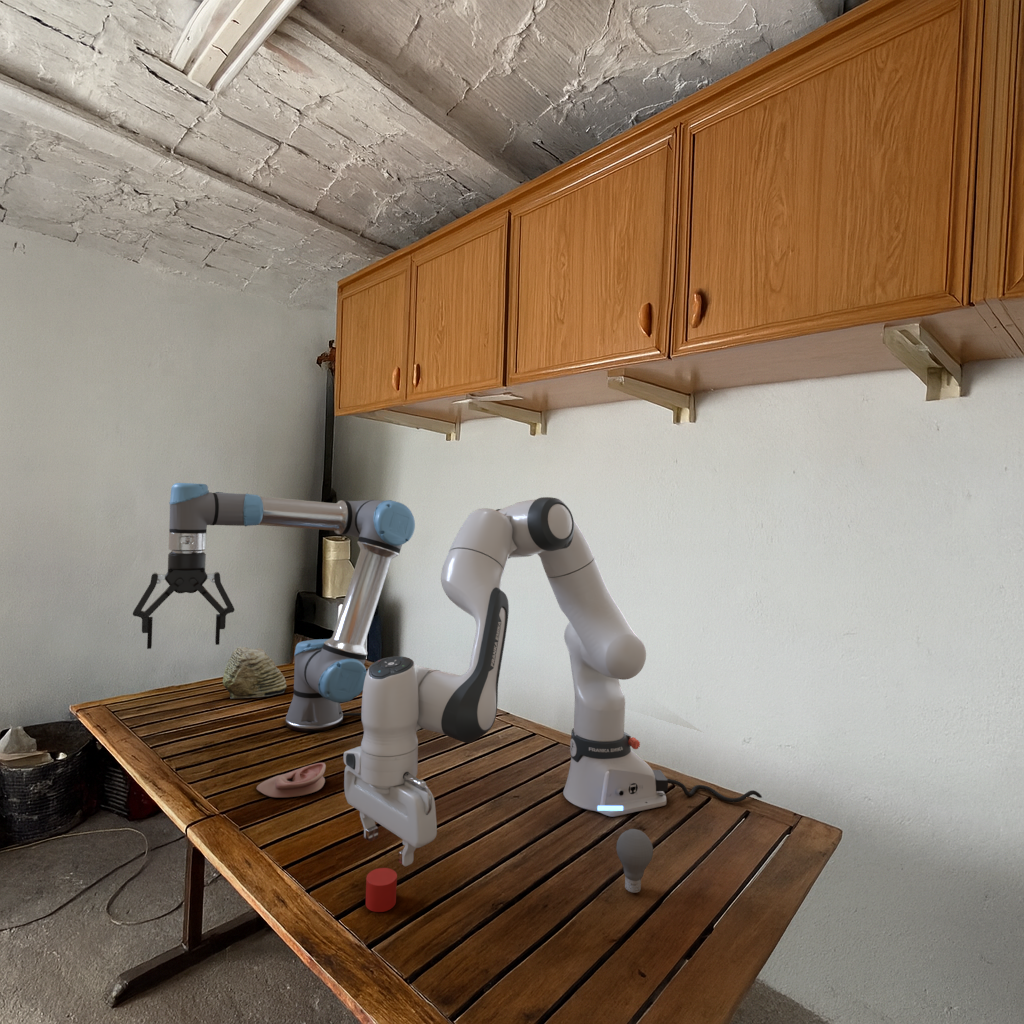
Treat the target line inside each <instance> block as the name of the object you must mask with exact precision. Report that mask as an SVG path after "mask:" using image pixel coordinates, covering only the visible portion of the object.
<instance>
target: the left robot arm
mask: <svg viewBox="0 0 1024 1024" xmlns="http://www.w3.org/2000/svg"><path fill="white" fill-rule="evenodd" d="M170 488H171V490H170V499H169V525H168V526H169V528H168V529H169V530H168V531H169V532H168V550H169V553H168V554H167V572H166V574H165V573H157V572H153V573H152V574H151V577H150V582H149V585H148V586H147V588H146V590H144V592H143V594H142V596H141V598H140V600H139V601H138V603H137V604H136V606H135V607H134V610H133V612H132V616H133V617H137V618H140V619H141V632H142V634H147V638H146V639H147V640H146V641H147V642H146V649H147V650H151V649H152V646H153V616H151V615H152V614H153V613H154V612H155V611H157V609H158V608H159V607H160V606H161V605H162V604H163V603H164V602H165V601H166V600H167V599H168V598H169V597H170V596H171V595H172V594H173V593H177V594H185V593H188V594H194V593H196V592H198V593H200V595H202V596H203V597H204V599H205V600H206V601H207V602H208V603H209V604H210V606H212V607H213V608H214V610H215V611H216V612H217V613H216V614H215V636H214V637H215V639H214V640H215V641H214V643H215V645H216V646H217V645H219V646H220V642H221V641H220V640H221V638H220V637H221V630H225V629H226V623H227V622H226V619H227V618H226V617H227V615H228V614H230V613H231V614H232V613H234V612H235V611H236V610H235V607H234V604H233V603H232V601H231V599H230V597H229V595H228V593H227V591H226V589H225V588H224V585H223V584H222V581H221V574H220V572H219V571H215V572H212V573H207V572H206V559H207V554H206V553H205V552H204V551H205V550H207V532H208V531H207V528H208V526H233V527H234V526H237V527H238V526H239V527H243V526H244V527H250V526H267V527H278V528H279V527H281V528H293V529H295V528H296V529H307V530H308V529H310V530H321V531H322V530H324V531H334V533H335V534H337V535H344V536H351V537H355V538H358V539H357V545H358V547H359V549H360V551H359V554H358V556H357V560H356V563H355V566H354V570H353V573H352V575H351V578H350V582H349V585H348V588H347V590H346V593H345V597H344V600H343V603H342V606H341V609H340V612H339V615H338V619H337V621H336V623H335V628H334V630H333V633H332V636H331V637H330V638H323V639H322V638H319V639H307V640H303V641H299V642H297V644H296V645H295V650H294V653H293V654H294V655H293V656H294V672H293V695H292V696H293V697H292V699H291V702H290V704H289V708H288V710H287V713H286V715H285V726H286V728H287V729H289V730H291V731H294V732H295V731H296V732H301V733H316V732H325V731H329V730H332V729H335V728H337V727H339V726H340V725H342V723H343V722H344V717H361V712H343V709H342V706H341V704H342V703H347V702H351V701H352V700H354V699H355V698H357V697H359V695H360V694H361V693H363V686H364V680H365V676H366V673H367V671H368V670H367V668H366V666H365V663H366V660H367V657H368V651H367V649H366V647H365V643H366V641H367V638H368V634H369V631H370V628H371V625H372V623H373V619H374V615H375V612H376V609H377V606H378V604H379V599H380V596H381V594H382V590H383V587H384V584H385V581H386V579H387V578H386V577H387V574H388V571H389V568H390V566H391V562H392V560H393V559H395V558H396V557H398V556H400V553H401V550H402V546H403V545H405V544H406V543H407V542H409V541H410V540H411V539H412V537H413V535H414V533H415V530H416V521H415V517H414V515H413V513H412V510H411V509H410V508H409V507H408V506H407V505H406V504H404V503H402V502H400V501H396V500H392V499H388V500H387V499H386V500H381V499H364V500H343V499H342V500H341V499H340V500H338V501H337V502H336V503H335V502H324V501H314V500H303V499H294V498H293V499H292V498H284V497H272V496H262V495H258V494H252V493H233V492H221V491H215V492H212V491H211V492H210V490H209V486H208V484H207V483H206V484H205V483H194V482H193V483H191V482H175V483H173V485H172V486H171V487H170ZM164 580H165V582H166V583H167V584H168V585H169V586H168V587H167V588H165V590H164V591H163V592H162V593H161V594H160V595H159V596H158V597H156V599H155V600H154V602H152V603H151V604H150V605H149V606H148V608H146V610H143V609H144V607H145V605H146V604H147V602H148V600H149V599H150V597H151V595H152V594H153V592H154V590H155V588H156V587H157V585H158V584H161V582H162V581H164ZM207 580H209V581H210V582H211V583H213V584H215V588H216V589H217V591H218V593H219V594H220V595H219V596H220V597H221V598H222V600H223V603H224V605H225V606H226V607H223V606H222V605H221V604H220V603H219V601H218V600H216V598H215V597H214V596H213V595H212V594H211V593H210V592H209V591H208V590H207V588H206V587H205V586H204V584H205V582H206V581H207Z"/></svg>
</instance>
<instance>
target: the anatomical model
mask: <svg viewBox="0 0 1024 1024" xmlns="http://www.w3.org/2000/svg"><path fill="white" fill-rule="evenodd" d="M326 768H327V765H326V763H325V762H316V763H313V764H309V765H306V766H302V767H300V768H297V769H294V770H292V771H289V772H286V773H282V774H278V775H275V776H273V777H270V778H267V779H265V780H264V781H262V782H261V783H259V784H258V785H256V790H257V792H259V793H261V794H263V795H264V796H267V797H270V798H275V799H278V798H293V797H294V798H295V797H300V796H301V797H302V796H306V795H309V794H312V793H315V792H318V791H320V790H321V789H322V788H323V787H324V785H325V783H326V778H325V777H324V775H325V772H326V770H327V769H326Z"/></svg>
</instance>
